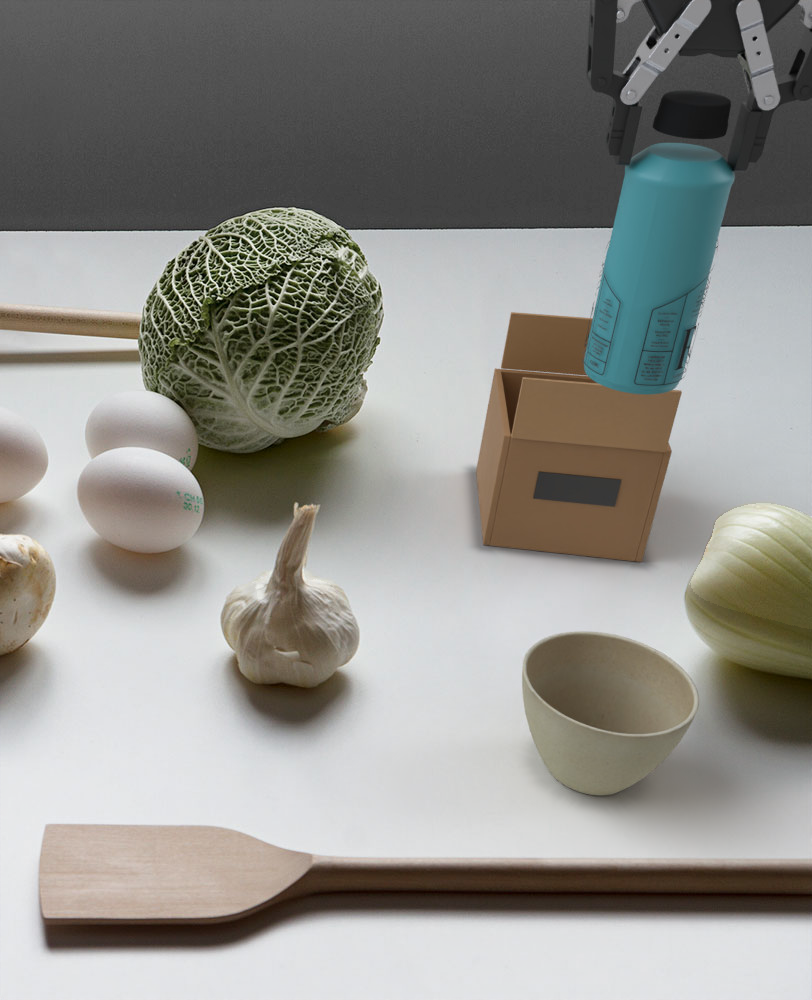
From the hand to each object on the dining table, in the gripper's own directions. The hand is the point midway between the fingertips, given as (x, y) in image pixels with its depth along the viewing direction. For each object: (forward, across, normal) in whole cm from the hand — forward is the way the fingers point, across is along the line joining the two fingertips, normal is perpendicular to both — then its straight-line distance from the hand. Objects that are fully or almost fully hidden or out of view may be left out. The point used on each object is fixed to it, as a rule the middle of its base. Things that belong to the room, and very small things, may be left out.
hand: (678, 164), depth 79 cm
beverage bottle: (+16, 0, 0) cm, 16 cm away
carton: (+33, 0, +13) cm, 36 cm away
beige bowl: (+33, -1, -18) cm, 38 cm away
